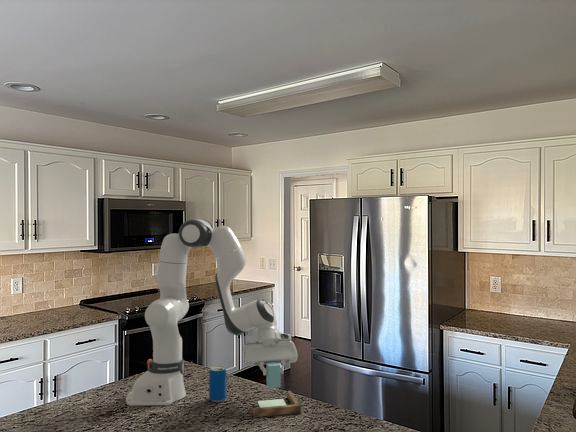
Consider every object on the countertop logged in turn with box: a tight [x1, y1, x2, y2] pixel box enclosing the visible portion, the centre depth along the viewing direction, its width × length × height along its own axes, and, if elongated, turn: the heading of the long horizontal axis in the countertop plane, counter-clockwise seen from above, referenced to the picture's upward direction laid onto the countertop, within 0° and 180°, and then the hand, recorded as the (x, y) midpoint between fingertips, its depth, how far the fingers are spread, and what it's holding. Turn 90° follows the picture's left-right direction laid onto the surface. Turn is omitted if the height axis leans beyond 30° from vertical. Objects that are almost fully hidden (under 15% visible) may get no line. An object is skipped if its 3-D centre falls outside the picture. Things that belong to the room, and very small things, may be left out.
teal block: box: [265, 362, 282, 389], centre depth 167 cm, size 4×4×8 cm
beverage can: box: [208, 365, 227, 403], centre depth 173 cm, size 6×6×12 cm
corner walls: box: [252, 390, 302, 418], centre depth 166 cm, size 17×15×2 cm
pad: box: [257, 398, 287, 408], centre depth 167 cm, size 10×10×1 cm
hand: (273, 373), depth 167 cm, fingers closed on teal block, 4 cm apart
